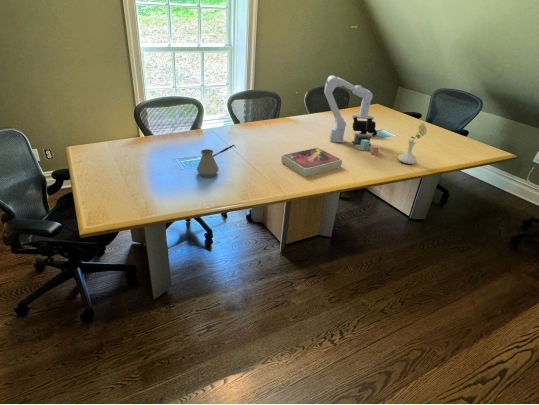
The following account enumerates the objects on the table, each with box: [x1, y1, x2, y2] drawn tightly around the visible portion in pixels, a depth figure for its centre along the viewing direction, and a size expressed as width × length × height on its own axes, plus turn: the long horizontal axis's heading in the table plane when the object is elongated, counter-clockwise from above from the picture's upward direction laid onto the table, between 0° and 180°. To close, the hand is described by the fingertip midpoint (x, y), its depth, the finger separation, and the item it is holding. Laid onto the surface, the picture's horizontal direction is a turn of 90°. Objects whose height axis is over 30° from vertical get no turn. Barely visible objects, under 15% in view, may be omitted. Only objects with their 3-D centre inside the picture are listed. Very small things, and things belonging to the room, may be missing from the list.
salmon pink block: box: [369, 144, 380, 156], centre depth 221 cm, size 4×4×5 cm
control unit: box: [351, 133, 372, 147], centre depth 234 cm, size 12×5×6 cm, turn 88°
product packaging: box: [280, 146, 343, 178], centre depth 200 cm, size 22×28×5 cm
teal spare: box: [360, 139, 371, 149], centre depth 227 cm, size 4×4×5 cm
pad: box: [354, 145, 371, 152], centre depth 229 cm, size 10×8×1 cm
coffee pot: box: [196, 144, 237, 178], centre depth 181 cm, size 21×12×15 cm, turn 115°
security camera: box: [352, 119, 378, 137], centre depth 250 cm, size 7×18×10 cm, turn 89°
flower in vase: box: [397, 122, 428, 165], centre depth 207 cm, size 13×11×25 cm
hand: (360, 128), depth 234 cm, fingers open, 7 cm apart
